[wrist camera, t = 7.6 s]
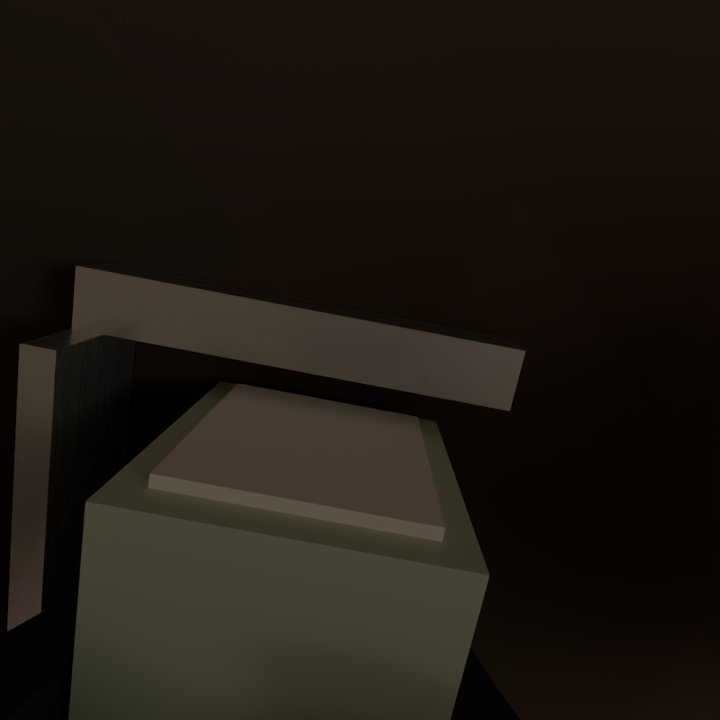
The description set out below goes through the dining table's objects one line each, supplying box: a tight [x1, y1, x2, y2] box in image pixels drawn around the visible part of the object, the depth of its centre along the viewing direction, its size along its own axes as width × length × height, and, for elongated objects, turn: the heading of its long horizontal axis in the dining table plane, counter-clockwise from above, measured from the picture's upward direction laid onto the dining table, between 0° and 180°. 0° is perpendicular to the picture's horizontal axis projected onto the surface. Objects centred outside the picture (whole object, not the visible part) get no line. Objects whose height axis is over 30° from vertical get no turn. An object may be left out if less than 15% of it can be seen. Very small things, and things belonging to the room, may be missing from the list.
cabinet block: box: [68, 381, 490, 720], centre depth 10 cm, size 5×8×6 cm, turn 169°
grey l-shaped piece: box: [7, 263, 525, 631], centre depth 11 cm, size 8×11×3 cm
